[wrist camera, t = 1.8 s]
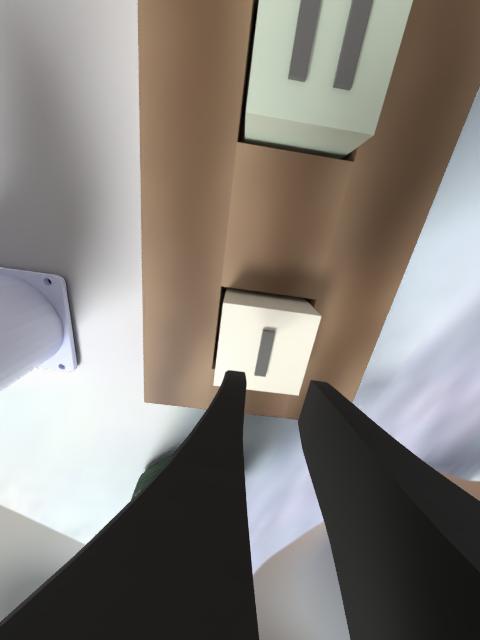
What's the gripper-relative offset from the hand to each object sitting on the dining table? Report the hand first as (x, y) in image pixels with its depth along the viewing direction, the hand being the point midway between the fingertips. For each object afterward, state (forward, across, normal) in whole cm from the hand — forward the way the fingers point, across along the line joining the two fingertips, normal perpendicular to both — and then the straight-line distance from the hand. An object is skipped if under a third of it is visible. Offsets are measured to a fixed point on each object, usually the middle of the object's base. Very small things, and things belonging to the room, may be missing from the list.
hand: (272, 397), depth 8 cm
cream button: (+7, 0, 0) cm, 7 cm away
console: (+9, 0, -6) cm, 11 cm away
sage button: (+7, 0, -12) cm, 14 cm away
